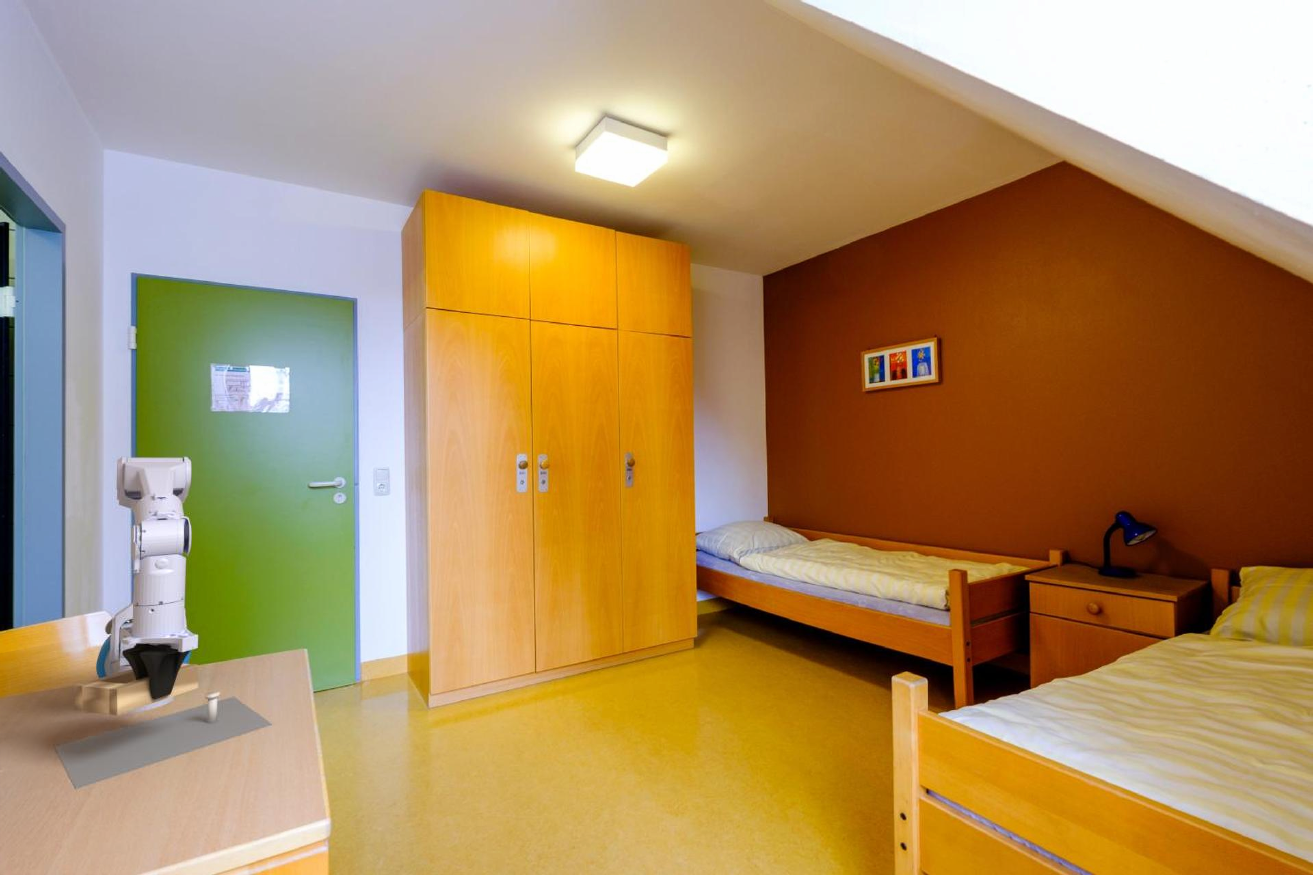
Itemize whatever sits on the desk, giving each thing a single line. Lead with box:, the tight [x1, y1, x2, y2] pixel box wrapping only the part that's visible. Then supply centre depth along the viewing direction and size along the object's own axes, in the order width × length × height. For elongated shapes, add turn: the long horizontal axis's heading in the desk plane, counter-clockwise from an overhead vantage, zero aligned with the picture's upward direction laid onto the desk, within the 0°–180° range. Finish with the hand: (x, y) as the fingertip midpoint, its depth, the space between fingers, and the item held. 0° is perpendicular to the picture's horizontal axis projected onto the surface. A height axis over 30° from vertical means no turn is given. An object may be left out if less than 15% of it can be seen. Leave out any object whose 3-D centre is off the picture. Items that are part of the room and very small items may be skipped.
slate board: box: [53, 691, 274, 790], centre depth 86 cm, size 18×22×6 cm
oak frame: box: [74, 663, 199, 716], centre depth 83 cm, size 10×10×4 cm
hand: (156, 695), depth 82 cm, fingers closed on oak frame, 2 cm apart
